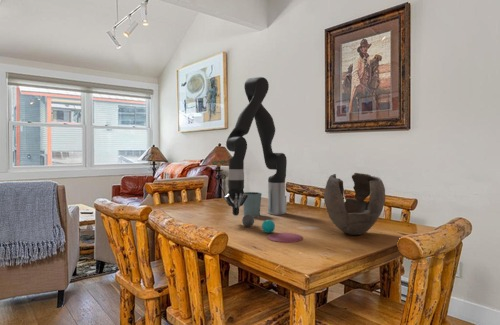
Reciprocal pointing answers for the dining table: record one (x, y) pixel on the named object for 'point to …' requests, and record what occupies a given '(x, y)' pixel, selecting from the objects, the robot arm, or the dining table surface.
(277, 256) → the dining table surface
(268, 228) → the teal ball
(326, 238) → the dining table surface
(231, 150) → the robot arm
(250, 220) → the gray ball
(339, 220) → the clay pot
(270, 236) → the plum mark
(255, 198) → the drinking glass
